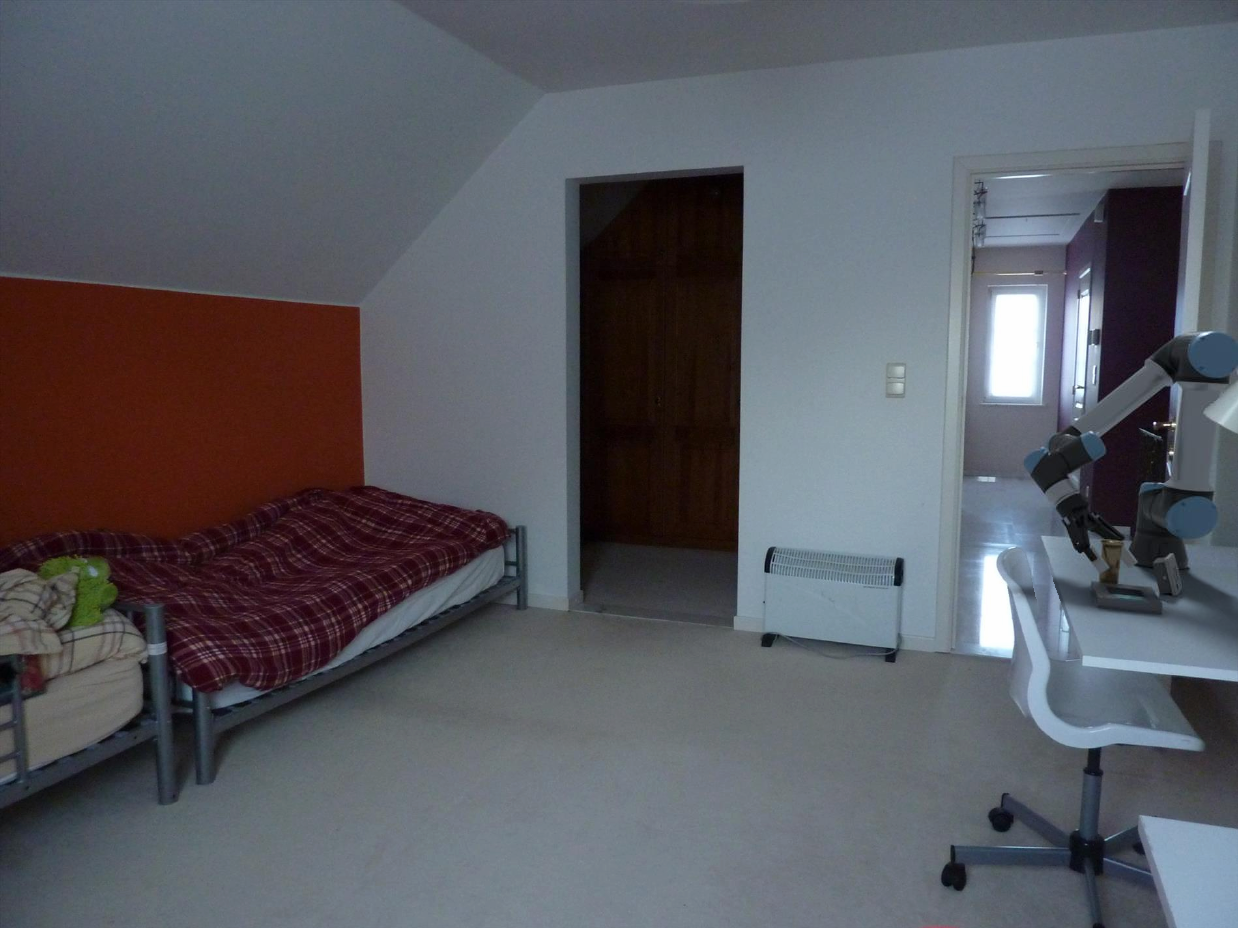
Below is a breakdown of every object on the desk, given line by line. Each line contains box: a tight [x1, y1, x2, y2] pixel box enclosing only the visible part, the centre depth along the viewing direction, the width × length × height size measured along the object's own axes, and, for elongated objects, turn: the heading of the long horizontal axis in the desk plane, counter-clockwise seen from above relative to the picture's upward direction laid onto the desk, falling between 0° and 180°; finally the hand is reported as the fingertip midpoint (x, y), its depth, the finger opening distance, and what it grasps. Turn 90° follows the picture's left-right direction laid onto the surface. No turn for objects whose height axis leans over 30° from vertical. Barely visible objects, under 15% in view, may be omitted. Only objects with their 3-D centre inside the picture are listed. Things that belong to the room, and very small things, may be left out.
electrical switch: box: [1152, 553, 1183, 597], centre depth 228 cm, size 9×5×9 cm, turn 141°
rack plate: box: [1089, 580, 1164, 616], centre depth 217 cm, size 16×13×3 cm
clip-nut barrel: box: [1098, 539, 1125, 584], centre depth 234 cm, size 5×5×11 cm
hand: (1119, 568), depth 232 cm, fingers open, 12 cm apart
